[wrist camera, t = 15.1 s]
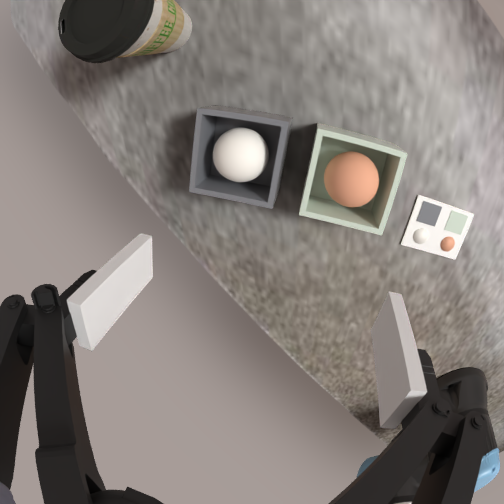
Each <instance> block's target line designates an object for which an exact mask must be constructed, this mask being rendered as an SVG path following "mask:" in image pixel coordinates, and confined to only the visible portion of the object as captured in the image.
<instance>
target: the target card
mask: <svg viewBox="0 0 504 504" xmlns="http://www.w3.org/2000/svg"><path fill="white" fill-rule="evenodd" d="M473 216H474V214H473V213H470V212H467V211H465V210H462V209H459V208H456V207H454V206H451V205H448V204H445V203H442V202H439V201H436V200H433V199H430V198H427V197H424V196H421V195H418V197H417V200H416V203H415V206H414V209H413V212H412V214H411V217H410V220H409V223H408V225H407V228H406V231H405V234H404V236H403V239H402V241H401V245H404V246H408V247H412V248H415V249H419V250H423V251H426V252H430V253H433V254H437V255H440V256H444V257H447V258H451V259H454V260H455V259H456V257H457V254H458V252H459V250H460V248H461V245H462V243H463V241H464V239H465V236H466V234H467V231H468V229H469V227H470V224H471V222H472V219H473Z"/></svg>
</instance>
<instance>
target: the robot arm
mask: <svg viewBox="0 0 504 504" xmlns="http://www.w3.org/2000/svg"><path fill="white" fill-rule="evenodd" d="M152 278H153V265H152V236H149V235H145V234H139V235H138V236H137V237H135V238H134V239H133V240H132V241H131V242H130V243H129V244H127V245H126V246H125V247H124V248H123V249H121V250H120V251H119V252H118V253H117V254H116V255H115V256H113V257H112V259H110V260H109V261H108V262H107V263H106V264H105V265H103V266H102V267H101V268H100V269H99V270H98V271H95V270H91V271H89V272H87V273H84V274H83V275H82V276H81V277H80V278H79V279H78V280H77V281H75V282H74V283H73V285H71V286H70V287H69V288H68V289H66V290H65V291H64V292H63V293H62V294H61V295H60V296H59V294H58V290H57V288H56V287H55V286H54V285H51V284H44V285H40V286H38V287H37V288H35V289H34V290H33V291H32V294H31V297H32V300H33V303H34V305H28V304H26V303H25V300H24V297H22V296H21V295H12V296H9V297H7V298H6V299H5V300H4V301H3V302H2V304H1V306H0V504H16V503H15V501H14V500H13V495H12V493H11V491H10V488H11V483H12V479H13V472H14V466H15V456H16V448H17V441H18V434H19V427H20V421H21V416H22V410H23V405H24V400H25V395H26V391H27V387H28V382H29V378H30V374H31V370H32V366H33V362H34V394H35V409H36V419H37V420H36V421H37V430H38V438H39V448H37V449H36V452H35V457H36V464H37V470H38V475H39V481H40V486H41V490H42V495H43V499H44V503H45V504H163V503H162V502H160V501H159V500H157V499H155V498H153V497H151V496H148V495H146V494H144V493H141V492H139V491H136V490H134V489H132V488H129V487H127V488H126V490H125V491H123V490H106V489H105V486H104V483H103V481H102V479H101V477H100V475H99V473H98V470H97V467H96V463H95V459H94V456H93V452H92V448H91V445H90V440H89V436H88V431H87V427H86V422H85V418H84V413H83V408H82V402H81V396H80V391H79V385H78V377H77V370H76V364H75V354H74V346H73V343H72V342H73V340H74V339H75V338H76V337H77V340H78V343H79V345H80V346H81V347H83V348H86V349H88V350H90V351H93V349H94V348H95V347H96V346H97V344H98V343H99V342H100V340H101V339H102V338H103V337H104V335H105V334H106V333H107V332H108V330H109V329H110V328H111V327H112V325H113V324H114V323H115V322H116V321H117V319H118V318H119V317H120V316H121V314H122V313H123V312H124V311H125V310H126V308H127V307H128V306H129V305H130V303H131V302H132V301H133V300H134V299H135V298H136V296H137V295H138V294H139V293H140V292H141V290H142V289H143V288H144V287H145V286H146V284H147V283H148V282H149V281H150V280H151V279H152ZM371 334H372V342H373V350H374V359H375V368H376V379H377V390H378V402H379V417H380V428H390V429H396V428H397V426H398V425H399V424H400V423H401V422H402V428H403V429H402V430H401V431H400V432H399V433H398V435H397V436H396V437H395V438H394V439H393V440H392V442H391V443H390V444H389V445H388V446H387V448H385V450H384V451H383V452H382V453H381V454H380V455H378V456H374V457H370V458H368V459H366V460H365V461H364V462H363V464H362V465H361V467H360V469H359V471H358V474H357V478H356V479H355V480H354V481H353V482H352V483H351V484H350V485H349V486H348V487H347V488H346V489H345V490H344V491H342V492H341V493H340V494H339V495H338V496H337V497H336V498H334V499H333V500H332V501H331V502H330V503H329V504H471V500H472V497H473V493H474V492H475V491H477V490H478V489H480V488H482V487H483V486H485V485H486V484H487V483H489V482H490V481H491V480H492V479H493V478H494V477H495V476H496V475H497V474H498V472H499V469H500V460H499V449H498V448H497V444H496V440H495V436H494V432H493V428H492V424H491V421H490V417H489V414H488V410H487V390H488V383H487V380H486V377H485V374H484V372H483V371H481V370H480V369H477V368H463V369H459V370H456V371H453V372H450V373H448V374H446V375H444V376H442V377H440V378H439V379H437V380H436V376H435V375H434V374H435V372H434V368H433V364H432V361H431V358H430V356H429V355H428V353H427V352H426V351H425V350H421V349H417V346H416V343H415V339H414V335H413V332H412V328H411V325H410V321H409V318H408V314H407V311H406V308H405V304H404V301H403V298H402V295H401V294H398V293H394V292H388V294H387V296H386V299H385V301H384V303H383V305H382V308H381V310H380V312H379V314H378V316H377V318H376V320H375V322H374V324H373V327H372V329H371Z"/></svg>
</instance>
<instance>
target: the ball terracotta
mask: <svg viewBox="0 0 504 504" xmlns="http://www.w3.org/2000/svg"><path fill="white" fill-rule="evenodd" d="M324 184H325V188H326V190H327V192H328V194H329V195H330V197H331V198H332V199H333V200H334V201H336V202H337V203H339V204H340V205H343V206H346V207H359V206H362V205H365V204H366V203H368V202H369V201H370V200H371V199H372V198H373V197H374V196H375V194H376V192H377V190H378V187H379V174H378V171H377V168H376V166H375V165H374V163H373V162H372V161H371V160H370V159H369V158H368V157H367V156H365V155H363V154H361V153H358V152H353V151H349V152H343V153H340V154H338V155H336V156H335V157H334V158H333V159H331V161H330V162H329V163H328V165H327V167H326V169H325V173H324Z"/></svg>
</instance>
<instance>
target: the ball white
mask: <svg viewBox="0 0 504 504" xmlns="http://www.w3.org/2000/svg"><path fill="white" fill-rule="evenodd" d="M268 159H269V151H268V147H267V144H266V142H265V140H264V139H263V138H262V136H261V135H260V134H258V133H257V132H255V131H253V130H251V129H248V128H234V129H231V130H228V131H227V132H225V133H224V134H222V135H221V136H220V137H219V139H218V140H217V142H216V143H215V146H214V149H213V161H214V164H215V167H216V169H217V170H218V172H219V173H220V174H221V175H222V176H224V177H225V178H227V179H228V180H231V181H234V182H247V181H250V180H253V179H255V178H256V177H258V176H259V175H260V174H261V173H262V172H263V171H264V169H265V168H266V166H267V163H268Z"/></svg>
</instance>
